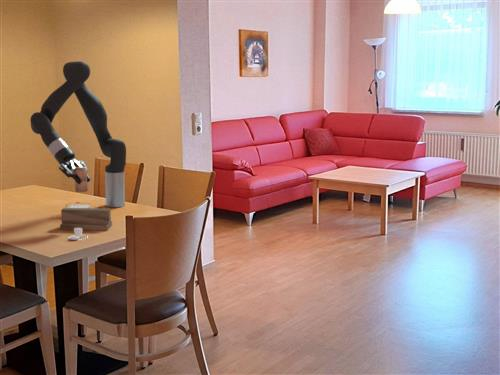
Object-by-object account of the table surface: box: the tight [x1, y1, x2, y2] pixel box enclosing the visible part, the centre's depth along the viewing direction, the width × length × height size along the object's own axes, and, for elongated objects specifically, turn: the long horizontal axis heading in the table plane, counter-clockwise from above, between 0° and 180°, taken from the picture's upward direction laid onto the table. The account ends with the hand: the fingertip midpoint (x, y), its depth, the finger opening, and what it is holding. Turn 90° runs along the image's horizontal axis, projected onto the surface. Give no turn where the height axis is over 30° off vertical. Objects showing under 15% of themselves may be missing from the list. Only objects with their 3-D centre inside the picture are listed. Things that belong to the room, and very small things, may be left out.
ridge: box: [59, 207, 113, 231], centre depth 264 cm, size 9×20×8 cm, turn 91°
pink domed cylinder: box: [74, 166, 89, 193], centre depth 262 cm, size 5×5×10 cm
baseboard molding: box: [65, 201, 90, 208], centre depth 289 cm, size 31×3×12 cm
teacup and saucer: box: [67, 228, 89, 241], centre depth 249 cm, size 9×8×4 cm
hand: (84, 181), depth 261 cm, fingers closed on pink domed cylinder, 5 cm apart
